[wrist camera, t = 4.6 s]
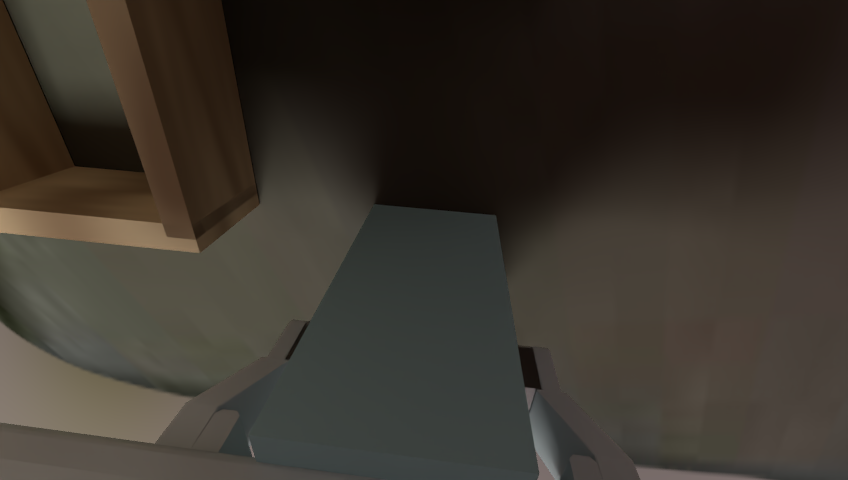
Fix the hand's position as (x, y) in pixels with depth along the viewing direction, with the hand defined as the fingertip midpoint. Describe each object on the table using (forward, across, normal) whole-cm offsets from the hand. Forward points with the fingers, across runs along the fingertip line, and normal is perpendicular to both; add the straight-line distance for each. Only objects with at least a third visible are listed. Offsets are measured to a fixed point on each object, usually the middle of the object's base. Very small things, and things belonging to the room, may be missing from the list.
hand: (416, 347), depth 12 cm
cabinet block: (+5, 0, 0) cm, 5 cm away
